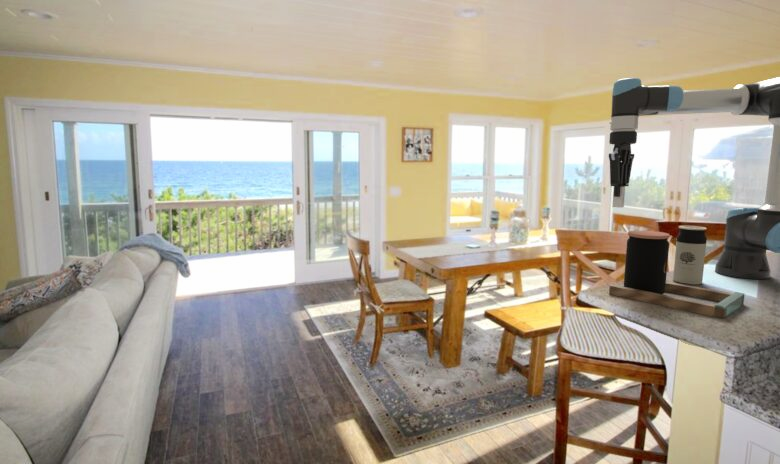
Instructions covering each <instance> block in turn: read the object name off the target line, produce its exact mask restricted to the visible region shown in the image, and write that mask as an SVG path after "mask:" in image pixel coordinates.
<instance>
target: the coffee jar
mask: <svg viewBox="0 0 780 464" xmlns="http://www.w3.org/2000/svg"><path fill="white" fill-rule="evenodd" d="M627 235H628V239H627V240H626V251H625V265H624V277H623V287H627V288H632V289H637V290H643V291H648V292H653V293H658V294H663V295H664V293H665V292H666V291H665V285H666V282H667V272H668V264H669V263H668V261H669V251H670V250H669V249H670V241H668V239H670V237H671V234H669V233H667V232H663V231H653V230H628V231H627Z"/></svg>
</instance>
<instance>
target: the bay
mask: <svg viewBox="0 0 780 464" xmlns="http://www.w3.org/2000/svg"><path fill="white" fill-rule="evenodd" d="M665 292H668V293H674V294H676V295H677V294H678V295H684V296H688V297H693V298H700V299H702V300H703V299H704V300H709V301H713V302H718V303H716V304H713V303H707V302H702V301H698V300H693V299H688V298H683V297H678V296H673V295H667V294H664V293H663V294H658V293H653V292H648V291H643V290H637V289H632V288H627V287H624V286H622V285H615V284H611V285H609V289H608V293H609V295H612V296H617V297H621V298H626V299H630V300H635V301H640V302H644V303H649V304H653V305H659V306H663V307H669V308H673V309H677V310H683V311H685V312H686V311H687V312H692V313H697V314H700V315H706V316H710V317H715V318H719V319H725V318H727V317H728V316H730V314H732V313H733V312H735V311H736V310H738V309H739V308H740V307H742V306H743V305H744V301H745V295H746V294H745V293H743V292H739V291H738V292H737V291H735V292H727V291H722V290H715V289H711V288H710V289H709V288H704V287H699V286H695V285H693V286H692V285H689V284H683V283H678V282H671V281H666V285H665Z"/></svg>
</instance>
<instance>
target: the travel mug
mask: <svg viewBox="0 0 780 464" xmlns="http://www.w3.org/2000/svg"><path fill="white" fill-rule="evenodd" d="M678 229H679V232H678V234H677V235H676V242H675V243H676V244H675V253H674V264H673V276H672V280H673V281H675V283H678V282H679V283H678V284H683V285H689V286H692V285H693V286H695V285H696V286H697V285H700V284H703V277H704V270H705V268H704V267H705V258H706V249H707V241H708V239H707V236H706V230H707V227H705V226H699V225H678Z"/></svg>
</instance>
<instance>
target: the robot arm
mask: <svg viewBox="0 0 780 464" xmlns="http://www.w3.org/2000/svg"><path fill="white" fill-rule="evenodd" d="M611 97H612V98H611V99H612V100H611V115H610V116H611V117H610V121H609V124H610V131H611V132H610V134H609V142H608V143H609V145H613V149H612V152H611V153H608V160H609V178H610V179H609V180H610V183H609V184H610V187H613V194H612V208H620V209H621V208H625V195H626V187H629V186H630V184H629V183H630V178H631V172H632V168H633V167H632V166H633V161H634V158H635V153H632V148H631V147H632V146H631V145H634V144H636V143H637V139H638V132H637V131H636V130H638V127H639V117H640V116H641V117H642V116H644V117H645V116H660V115H661V116H662V115H687V114H688V115H689V114H690V115H691V114H710V113H711V114H712V113H713V114H716V113H730V114H731V115H733V116H761V117H762V116H764V117H765V116H766V117H768V118H767V119H768V120H767V121H768V122H770V123H771V124H772V125H773V132H772V139H771V148H770V155H769V156H770V157H769V164H768V173H767V182H766V191H765V198H764V203H762V204H761V205H760V206H759V207H740V208H737V207H735V208H730V209H729V210H728V212H727V214H726V218H725V221H726V222H725V231H724V239H723V240H724V241H723V250H722V252H721V254H720V256H719V258H718V259H717V262H716V264H715V266H714V267H715V268H714V271H715V272H716V273H717V274H720V275H723V276H728V277H734V278H741V279H749V280H751V279H753V280H766V279H767V280H768V279H769V278H771V268H770V263H769V260H768V256H767V251H770V252H772V253H775V254H776V253H777V254H780V76H778V77H773V78H769V79H766V80H762V81H758V82H754V83H753V82H752V83H748V84H737V85H736V86H735V87H733V88H731V87H730V88H715V89H714V88H711V89H692V90H689V89H688V90H687V89H686V90H683V88H682V87H681V86H680V85H670V84H668V85H643V84H642V80H641V78H639V77H637V78H635V77H627V78H621V79H618V80H616V81H615V82H614V83H613V88H612V95H611Z"/></svg>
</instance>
